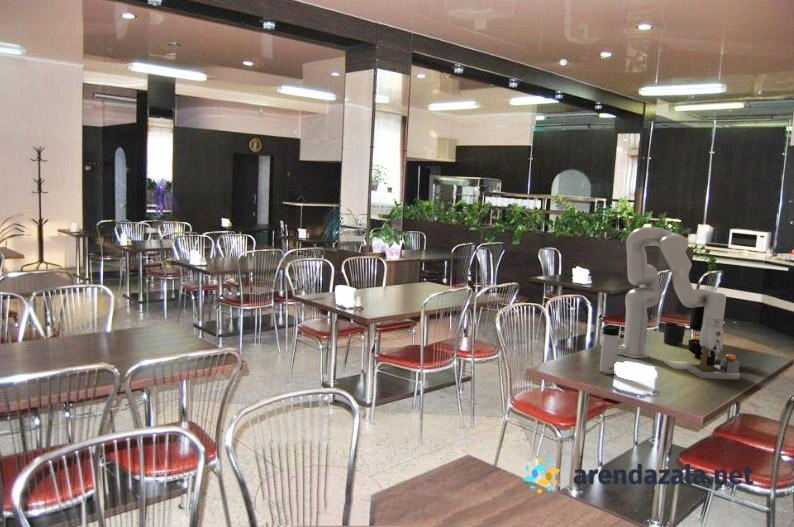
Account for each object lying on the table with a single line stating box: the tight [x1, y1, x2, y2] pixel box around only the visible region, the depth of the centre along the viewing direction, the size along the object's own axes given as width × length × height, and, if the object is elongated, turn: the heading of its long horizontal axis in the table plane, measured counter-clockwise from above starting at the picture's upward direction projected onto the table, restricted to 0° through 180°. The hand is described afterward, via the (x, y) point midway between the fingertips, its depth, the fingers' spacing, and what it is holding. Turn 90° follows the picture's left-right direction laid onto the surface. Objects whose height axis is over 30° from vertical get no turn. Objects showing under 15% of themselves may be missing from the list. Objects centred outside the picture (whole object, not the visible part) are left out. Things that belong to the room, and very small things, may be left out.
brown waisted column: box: [698, 345, 715, 372], centre depth 256 cm, size 6×6×11 cm
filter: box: [688, 306, 705, 359], centre depth 283 cm, size 14×9×30 cm
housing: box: [686, 358, 741, 380], centre depth 256 cm, size 16×12×7 cm
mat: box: [663, 360, 690, 370], centre depth 268 cm, size 10×10×1 cm
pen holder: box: [663, 322, 686, 347], centre depth 308 cm, size 9×9×10 cm
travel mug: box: [599, 325, 621, 375], centre depth 251 cm, size 6×7×20 cm
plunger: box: [725, 353, 737, 361], centre depth 253 cm, size 4×4×6 cm
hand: (707, 363), depth 256 cm, fingers closed on brown waisted column, 3 cm apart
